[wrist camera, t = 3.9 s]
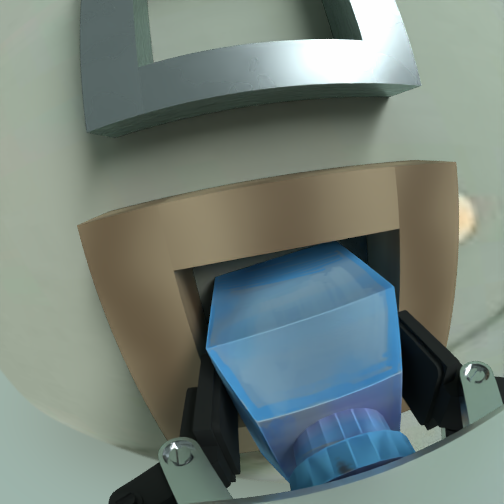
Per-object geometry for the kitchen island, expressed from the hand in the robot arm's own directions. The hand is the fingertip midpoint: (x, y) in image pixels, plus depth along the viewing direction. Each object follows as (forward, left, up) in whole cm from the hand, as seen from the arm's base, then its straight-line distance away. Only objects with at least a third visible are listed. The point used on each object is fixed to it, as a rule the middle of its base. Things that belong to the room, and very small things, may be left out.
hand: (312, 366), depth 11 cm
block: (0, -17, -5) cm, 18 cm away
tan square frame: (0, 0, -5) cm, 5 cm away
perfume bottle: (0, 0, -5) cm, 5 cm away
